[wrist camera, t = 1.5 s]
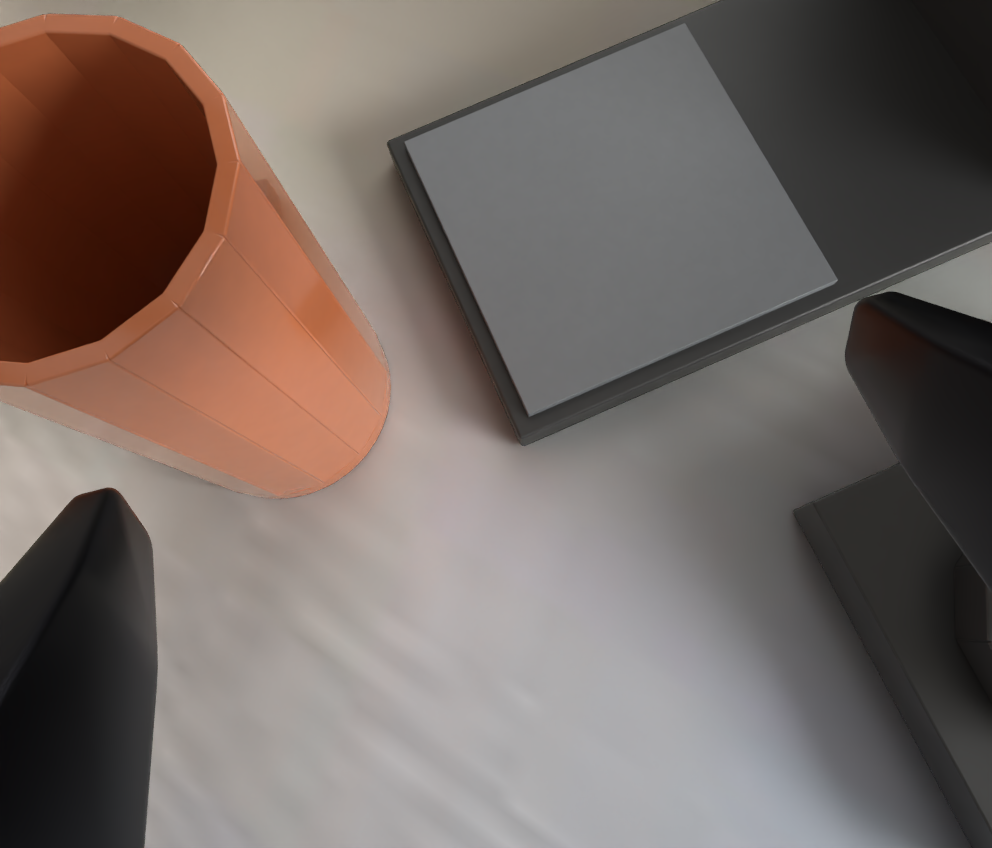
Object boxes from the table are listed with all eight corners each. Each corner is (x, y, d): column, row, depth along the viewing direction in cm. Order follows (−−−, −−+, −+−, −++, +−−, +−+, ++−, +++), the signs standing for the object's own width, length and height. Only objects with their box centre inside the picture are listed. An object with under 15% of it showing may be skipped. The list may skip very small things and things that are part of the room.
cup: (376, 508, 24) (192, 400, 12) (164, 489, 25) (-213, 367, 12) (403, 301, 26) (268, 19, 13) (204, 288, 26) (-97, 7, 14)
